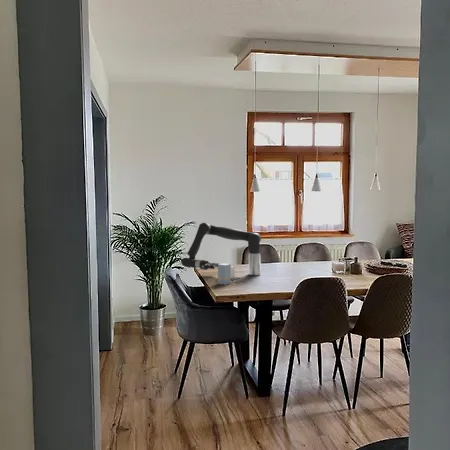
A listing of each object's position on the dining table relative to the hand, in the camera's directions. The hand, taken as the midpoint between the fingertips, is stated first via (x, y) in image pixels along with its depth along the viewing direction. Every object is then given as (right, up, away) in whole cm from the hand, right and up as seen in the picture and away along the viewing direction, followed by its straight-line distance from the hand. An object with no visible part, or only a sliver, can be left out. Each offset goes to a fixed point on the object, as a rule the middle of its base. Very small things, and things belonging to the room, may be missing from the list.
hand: (217, 266), depth 361 cm
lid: (+8, -8, -6) cm, 13 cm away
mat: (+9, -9, -6) cm, 14 cm away
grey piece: (+5, -10, -24) cm, 27 cm away
